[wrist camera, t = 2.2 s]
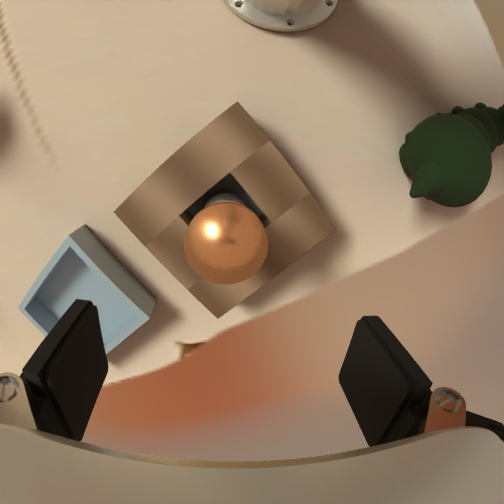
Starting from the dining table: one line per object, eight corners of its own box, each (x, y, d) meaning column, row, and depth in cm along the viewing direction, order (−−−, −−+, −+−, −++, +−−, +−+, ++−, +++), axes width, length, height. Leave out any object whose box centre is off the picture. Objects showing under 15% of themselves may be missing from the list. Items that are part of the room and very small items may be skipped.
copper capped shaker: (228, 171, 27) (231, 187, 17) (262, 212, 29) (284, 250, 19) (187, 206, 28) (167, 242, 18) (222, 244, 30) (221, 298, 19)
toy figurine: (470, 86, 28) (345, 144, 28) (576, 83, 10) (502, 149, 10) (488, 145, 31) (376, 221, 31) (589, 163, 13) (513, 288, 13)
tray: (85, 224, 29) (68, 235, 25) (157, 299, 33) (150, 318, 29) (32, 293, 31) (18, 307, 27) (94, 353, 35) (85, 372, 31)
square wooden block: (235, 109, 26) (237, 101, 21) (318, 215, 31) (336, 228, 26) (130, 200, 28) (113, 212, 24) (218, 293, 33) (217, 318, 28)
